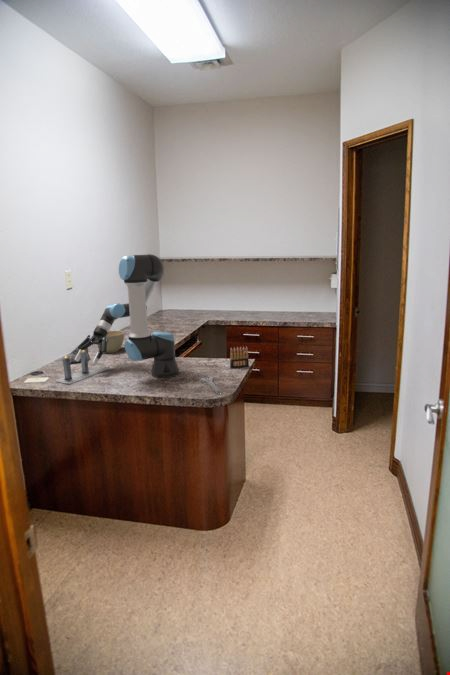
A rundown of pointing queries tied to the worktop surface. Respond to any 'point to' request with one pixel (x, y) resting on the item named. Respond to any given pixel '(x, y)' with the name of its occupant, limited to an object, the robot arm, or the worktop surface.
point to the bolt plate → (79, 375)
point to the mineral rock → (74, 354)
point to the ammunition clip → (239, 358)
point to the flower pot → (114, 341)
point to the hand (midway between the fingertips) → (85, 362)
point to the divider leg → (84, 361)
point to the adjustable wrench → (211, 384)
